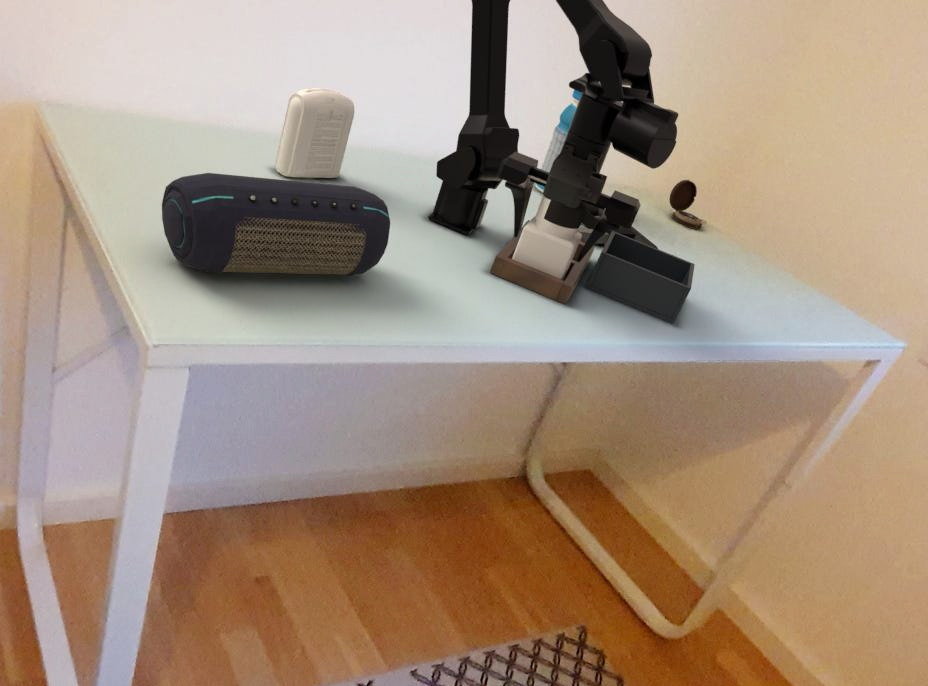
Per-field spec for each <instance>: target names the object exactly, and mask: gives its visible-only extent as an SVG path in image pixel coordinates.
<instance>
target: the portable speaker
mask: <svg viewBox="0 0 928 686" xmlns="http://www.w3.org/2000/svg"><path fill="white" fill-rule="evenodd" d="M161 219H162V220H161V221H162V227H163V233H164V236H165V238H166V240H167V243H168V245H169V248H170V250H171V252H172V255H173V257H174V258H175V260H177V261H178V262H179V263H181V264H182V265H184V266H187V267H189V268H191V269H194V270H195V271H199V272H204V273H242V274H243V273H244V274H245V273H248V274H249V273H250V274H285V275H287V274H289V275H325V276H326V275H330V276H331V275H332V276H349V277H351V276H357V275H362V274H364V273H366V272H368V271H370V270H371V269H372V268H374V267H375V266H376V265H378V264H379V263H380V261H381V259H382V257H383V256H384V254H385V253H386V250H387V247H388V244H389V236H390V229H391V218H390V214H389V208H388V205H387V204H386V202H385V201H384V200H383V199H382V198H381V197H379V196H378V195H376V194H375V193H373V192H370V191H367V190H366V189H362V188H359V187H356V186H351V185H340V184H331V183H321V182H309V181H299V180H288V179H277V178H266V177H255V176H246V175H235V174H226V173H225V174H224V173H216V172H215V173H214V172H204V173H197V174H191V175H185V176H181V177H179V178H176V179H174V180H172V181H171V182H170V183H168V185H166V186H165V189H164V192H163V196H162V202H161Z"/></svg>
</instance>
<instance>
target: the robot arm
mask: <svg viewBox="0 0 928 686" xmlns="http://www.w3.org/2000/svg"><path fill="white" fill-rule="evenodd" d="M470 2H471V33H470V34H471V37H470V39H471V40H470V71H469V73H470V75H469V78H470V79H469V105H468V106H469V108H468V109H469V110H468V115H467V118H466V120H465V122H464V124H463V125H462V127H461V129H460V131H459V133H458V137H457V142H456V149H455V150H456V151H453V152H451V153H450V154H448V155H446V156H444V157H442V158H441V159H439V160H437V162H436V172H435V173H436V175H435V177H436V178H438V179H440V180H441V181H442V182H441V185H440V188H439V191H438V195H437V198H436V201H435V205H434V208H433V211H432V212H430V214H428V216H427V218H428V220H430V221H432V222H435V223H438V224H440V225H442V226H444V227H447V228H449V229H451V230H454V231H457V232H459V233H461V234H464V235H470V234H471V233H472V232H473V231H475V230H477V229H478V228H480V226H481V224H482V222H483V218H484V215H485V212H486V209H487V206H488V203H489V200H488V199H487V195H488V192H489V189H491V190H497V188H498V187H499V186H500V184H501V183H502V182H503V181H505V182H504V187H506V188H507V189H510V191H511V194H512V199H513V208H514V209H513V210H514V211H513V215H514V216H513V223H514V224H513V237H517V236H518V235H519V232H520V230H521V228H522V227H523V225H524V220H525V217H526V214H527V210H528V206H529V202H530V198H531V195H532V191H533V187H534V185H535V183H537V184H539V185H542V186H544V187H545V188H544V191H543V193H542V196H543V195H544V196H545V197H546V198H547V199H549V200H556V201H558V202H561V203H563V204H565V205H566V206H567V207H570V208H577V207H579V205H580V203H581V201H582V202H585V203H587V204H590V205H592V206H595V207H598V208H600V209H603V210H604V212H603V214H602V215H601V217H600V219H599V220H598V222H597V224H596V226H595V227H594V229H593V231H592V233H591V234H590V236H589V238H588V240H587V241H586V242H584V243H585V245H584V247H583V248H582V250H581V252H580V254H579V257H578V259H577V260H576V261H577V262H580V261H581V260H582V259H583V257H584V256H585V255H586V254H587V253H588V251H589V250H590V249H591V248H592V247H594V246H595V244H597V243H596V242H597V241H598V240H599V239H600V238H601V237H602V236H603V235H604V234H605V233H606V232H608V231H609V230H610V229H613V230H616V231H618V230H619V229H620V227H621V226H622V227H625V228H630V229H631V227H633V224H634V223H635V219H636V217H637V215H638V213H639V210H640V208H641V203H640V199H638V198H637V197H633V196H631V195H628V194H626V193H624V192H620V191H619V190H614V191H613V192H612V194H611V195H608V194H606V193H602V192H603V190H604V188H605V184H606V181H607V179H608V176H607V175H605V174H603V173H601V171H602V167H603V166H604V163H605V161H606V158H607V155H608V153H609V150H610V149H611V148H610V147H611V145H612V148H613V150H615V151H617V152H619V153H620V154H623V155H625V156H626V157H628V158H630V159H633V160H635V161H637V162H638V163H640V164H643V165H644V166H647V167H648V168H650V169H653V170H654V169H655V170H656V169H658V168H660V167H661V166H662V165H664V164H665V162H666V161H667V160H668V159H669V158H670V156H671V155H672V153H673V152H674V149H675V147H676V145H677V136H678V127H677V124H676V122H677V120H678V117H679V112H677V111H675V110H673V109H670V108H664V107H662V106H659V105H657V104H655V96H654V90H653V83H652V77H651V70H650V67H651V62H652V57H653V51H652V49H651V47H650V44H649V42H647V41H646V39H644V38H643V36H641V35H640V34H639V33H638V32H637V31H636V30H635V29H634V28H633V27H631V26H630V25H629V24H627V23H626V22H625V21H623V20H622V19H621V18H619V16H617V15H615V14H614V13H613V12H612V10H610V8H609V7H608V6H607V4H606V3H605V1H604V0H555V2H556V4H557V5H558V6H559V8H560V9H561V11H562V12H563V13H564V15H565V17H566V18H567V20H568V21H569V23H570V25H572V27H573V28H574V30H575V33H576V35H577V38H578V50H579V51H578V52H579V53H580V55H581V56H580V57H582V59H583V62H584V65H585V67H586V69H587V71H588V72H586V73H584V74H583V75H582V76H580V77H578V78H576V79H573V80H571V81H569V83H568V87H569V88H570V89H571V90H573V91H574V90H576V91H578V92H581V93H582V94H581V97H580V100H579V102H578V105H577V108H576V110H575V113H574V116H573V119H572V121H571V124H570V127H569V129H568V132H567V135H566V138H565V140H564V143H563V146H562V148H561V151H560V154H559V155H558V157H557V158H556V159H555V160H554V162H553V164H552V167H551V170H550V172H547V171H544V170H541V168H539V167H538V166H539V160H538V159H536V158H533V157H531V156H528V155H525V154H523V153H520V152H519V141H520V140H519V139H520V130H519V128H515V127H511V126H510V124H509V122H508V119H507V118H506V89H507V88H506V87H507V61H508V34H509V9H510V2H511V0H471V1H470Z"/></svg>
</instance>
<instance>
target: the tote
mask: <svg viewBox="0 0 928 686" xmlns="http://www.w3.org/2000/svg"><path fill="white" fill-rule="evenodd" d="M694 271H695V263H693V262H691V261H689V260H685V259H683V258H681V257H678V256H676V255H673V254H671V253H669V252H667V251H663V250H661V249H659V248H658V249H656V248H654V247H651V246H649V245H646V244H644V243H641V242H639V241H637V240H634V239H632V238H629V237H627V236H624V235H622V234H619V233H617V232H614V231H612V232H611V234H610V236H609V238H608V240H607V242H606V244H605V246H603V248H602V250H601V252H600V254H599V256H598V259H597V261H596V264H595V266H594V268H593V271H592V272H591V275H590V277H589V280H588V282H587V284H586V287H585V288H586V289H588V290H591V291H593V292H595V293H597V294H599V295H603V296H605V297H608V298H610V299H612V300H615V301H617V302H620V303H622V304H625V305H627V306H629V307H632V308H634V309H637V310H639V311H641V312H644V313H646V314H649V315H651V316H653V317H656V318H657V319H661V320H663V321H666V322H667V323H670V324H672V325H674V324H675V323H676V320H677V318H678V316H679V314H680V312H681V310H682V308H683V306H684V304H685V302H686V300H687V298H688V296H689V294H690V292H691V290H692V285H693V278H694Z"/></svg>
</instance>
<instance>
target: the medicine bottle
mask: <svg viewBox="0 0 928 686" xmlns="http://www.w3.org/2000/svg"><path fill="white" fill-rule="evenodd" d="M586 210H587V207H586V205H585V203H584V202H582V201H581V203H580V205H579V207H577V208H570V207H567V206H566V205H565V204H563V203H561V202H558V201H556V200H549V199H547V198H546V197H545V196H544V195H543V194H542V198H541V201H540V203H539V206H538V208H537V212H536V214H535V215H534V216H533V217H532V218H531V219H530V221H529V222H528V224H527V225H526V226H525V227H524V228H523V231H522V234H521V236H520V239H519V242H518V244H517V247H516V250H515V252H514V255H513V258H512V259H513V260H515V261H518V262H520V263H523V264H525V265H527V266H530V267H532V268H535V269H537V270H539V271H542V272H544V273H547V274H549V275H552V276H554V277H556V278H559V279H561V280H564V281H565V279H566V278H565V276H566V274H567V271H568V269H569V266H570V264H571V261H572V260H574V258H573V257H574V254H575V252H576V249H577V247H578V245H579V242H580V240H581V237H582V234H581V233H579V232H578V230H579V228H581V225H582V220H583V218H584V215H585V213H586Z"/></svg>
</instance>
